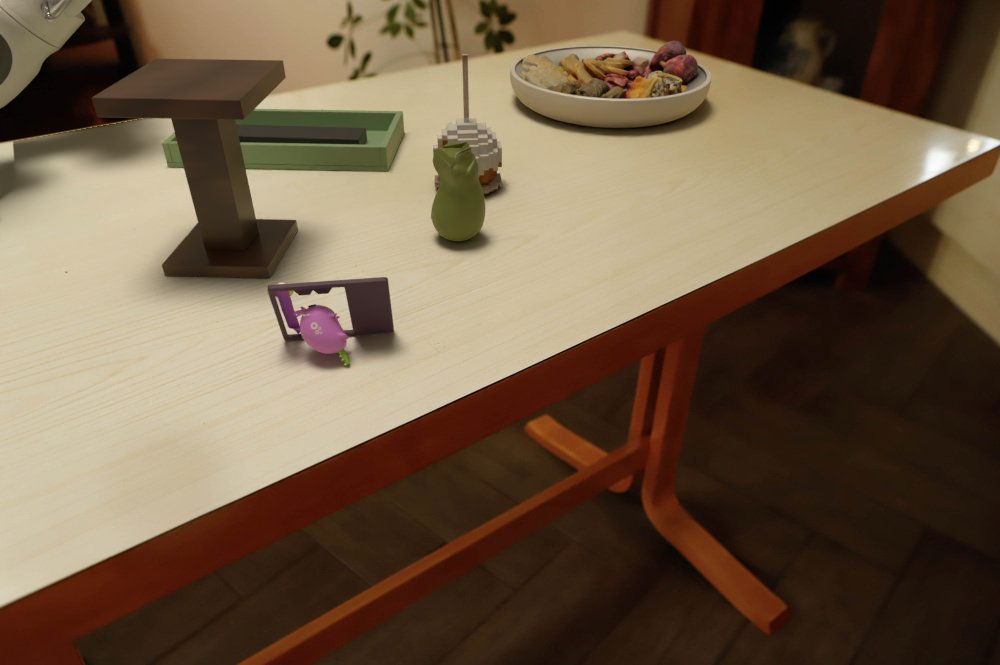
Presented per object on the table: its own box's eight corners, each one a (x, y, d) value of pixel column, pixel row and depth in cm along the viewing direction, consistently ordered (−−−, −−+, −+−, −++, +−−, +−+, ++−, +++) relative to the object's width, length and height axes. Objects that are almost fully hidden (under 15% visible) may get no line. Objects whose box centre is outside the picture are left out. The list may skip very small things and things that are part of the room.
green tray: (167, 167, 90) (161, 143, 88) (208, 129, 101) (203, 107, 99) (388, 171, 89) (385, 147, 87) (404, 133, 100) (402, 111, 98)
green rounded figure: (494, 242, 74) (494, 147, 68) (449, 255, 71) (445, 158, 66) (466, 221, 78) (464, 130, 72) (423, 233, 75) (417, 140, 69)
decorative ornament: (434, 174, 88) (427, 46, 79) (497, 172, 89) (498, 44, 80) (435, 201, 82) (428, 65, 73) (503, 199, 82) (504, 63, 74)
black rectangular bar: (207, 148, 93) (204, 135, 92) (220, 136, 97) (217, 123, 96) (359, 153, 92) (358, 139, 91) (367, 140, 96) (366, 127, 95)
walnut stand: (149, 281, 67) (90, 97, 57) (198, 223, 77) (155, 58, 67) (277, 284, 67) (239, 100, 57) (310, 225, 77) (283, 60, 67)
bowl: (583, 150, 95) (588, 90, 90) (475, 91, 116) (474, 39, 112) (748, 114, 107) (759, 59, 103) (623, 66, 128) (628, 19, 124)
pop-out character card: (387, 269, 56) (267, 277, 55) (390, 323, 53) (263, 332, 52) (393, 321, 61) (284, 329, 60) (396, 372, 58) (282, 382, 57)
